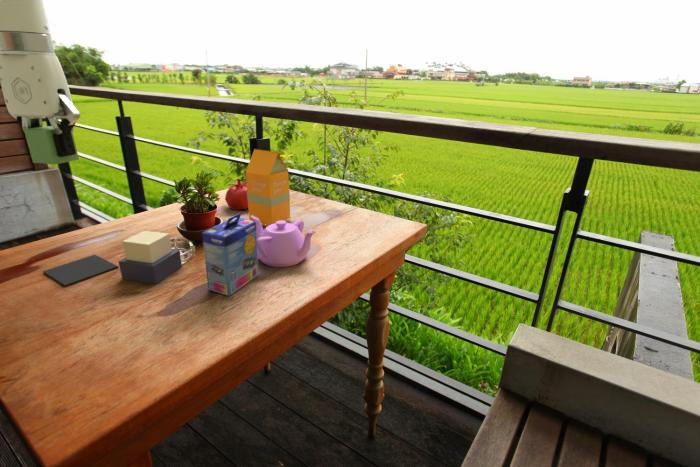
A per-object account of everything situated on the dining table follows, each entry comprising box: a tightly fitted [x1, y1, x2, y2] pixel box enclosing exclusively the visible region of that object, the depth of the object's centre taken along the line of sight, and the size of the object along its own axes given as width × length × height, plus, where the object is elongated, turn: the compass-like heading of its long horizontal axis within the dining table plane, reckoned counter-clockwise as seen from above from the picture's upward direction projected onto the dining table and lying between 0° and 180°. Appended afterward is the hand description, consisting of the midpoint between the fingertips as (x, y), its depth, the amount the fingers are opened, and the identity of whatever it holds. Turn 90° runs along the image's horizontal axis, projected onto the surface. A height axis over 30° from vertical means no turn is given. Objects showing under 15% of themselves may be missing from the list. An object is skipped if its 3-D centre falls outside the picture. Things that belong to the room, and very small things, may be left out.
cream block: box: [122, 230, 173, 263], centre depth 78 cm, size 6×6×4 cm
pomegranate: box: [224, 178, 249, 211], centre depth 120 cm, size 10×10×9 cm
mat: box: [42, 254, 119, 288], centre depth 81 cm, size 10×10×1 cm
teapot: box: [251, 215, 317, 268], centre depth 87 cm, size 12×14×9 cm
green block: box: [23, 125, 80, 165], centre depth 71 cm, size 5×5×6 cm
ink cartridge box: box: [201, 212, 259, 297], centre depth 74 cm, size 10×6×14 cm, turn 158°
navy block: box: [117, 248, 183, 285], centre depth 80 cm, size 8×8×4 cm
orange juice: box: [245, 148, 291, 227], centre depth 107 cm, size 8×9×20 cm
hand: (54, 153), depth 72 cm, fingers closed on green block, 5 cm apart
